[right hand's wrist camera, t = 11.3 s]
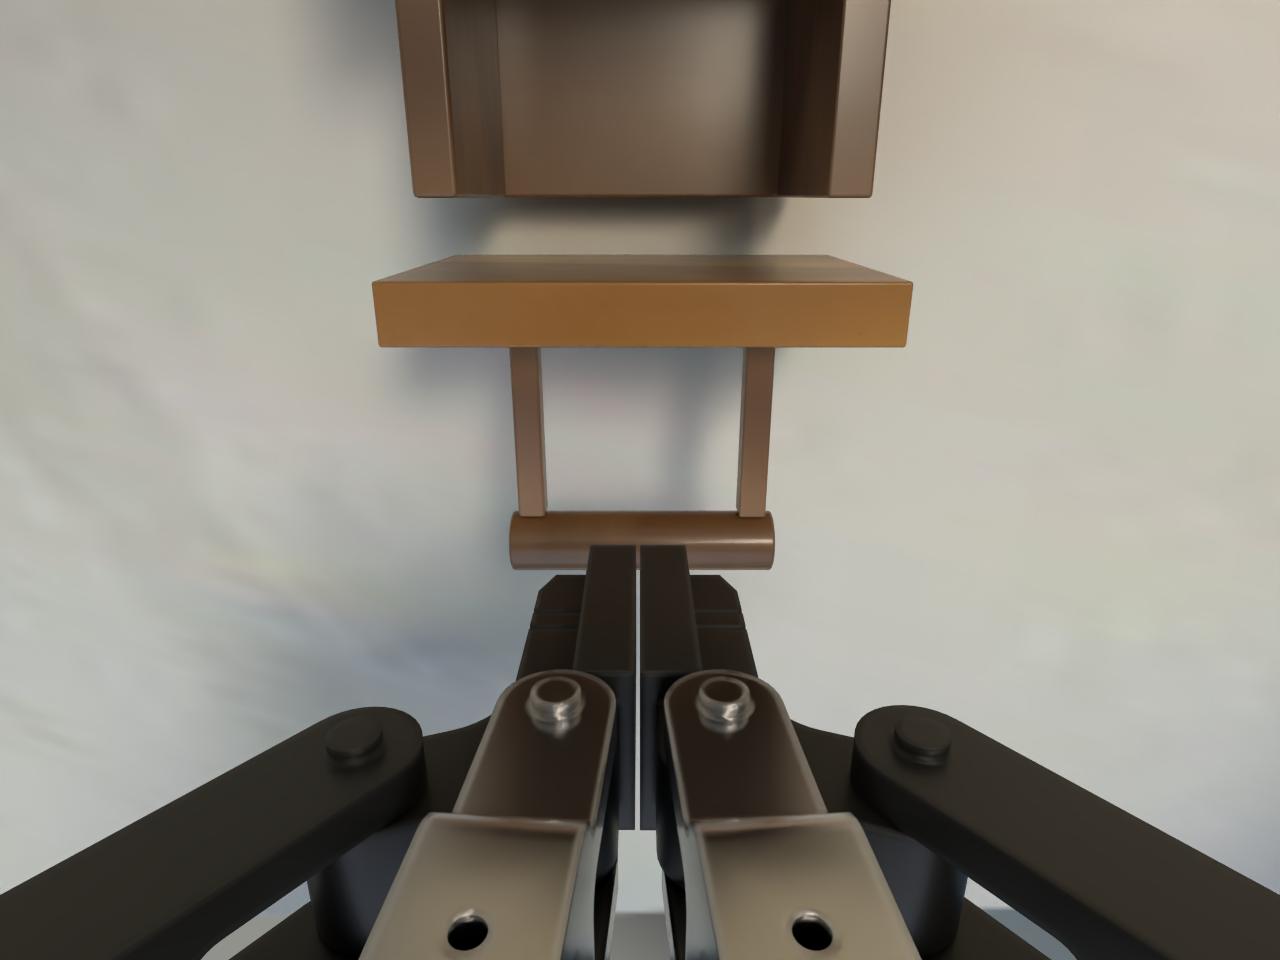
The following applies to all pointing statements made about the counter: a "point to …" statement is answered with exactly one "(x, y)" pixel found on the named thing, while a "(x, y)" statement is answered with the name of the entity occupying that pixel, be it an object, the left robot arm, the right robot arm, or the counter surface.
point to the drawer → (642, 167)
